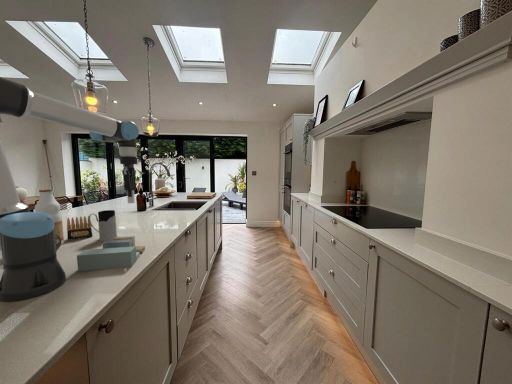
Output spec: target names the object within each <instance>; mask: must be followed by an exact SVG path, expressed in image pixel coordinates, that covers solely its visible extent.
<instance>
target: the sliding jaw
mask: <svg viewBox="0 0 512 384" xmlns="http://www.w3.org/2000/svg"><path fill="white" fill-rule="evenodd" d="M135 237H136V236H135V235H133V236H118V237H115V238H114V239H113V240H123V239H132V245H133V246H136V239H135ZM145 251H146V246H145V245H137V246H136V252H139V254H143V253H144V252H145Z"/></svg>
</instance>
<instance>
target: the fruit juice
mask: <svg viewBox="0 0 512 384" xmlns="http://www.w3.org/2000/svg"><path fill="white" fill-rule="evenodd" d="M38 192H39V200H38V201H37V203H36V204H35V206H34V212H36V213H37V212H42V213H47V214H49V215H51V216H52V218H53V222H54V225H55V226H54V232H55V234H56V235H58V236H60V238H61V246H62V245H64V243H65V237H64V227H63V226H64V225H63V218H62V214H61V204H60V203H59V202H58V201H57V200H56V198H55V196H54V194H53V193H54V189H53V188H41V189H39V190H38Z"/></svg>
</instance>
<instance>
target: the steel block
mask: <svg viewBox="0 0 512 384" xmlns="http://www.w3.org/2000/svg"><path fill="white" fill-rule="evenodd" d="M101 245H102V249H105V248H119V247H133V245H132V239H123V240H107V241H103V243H102V244H101Z"/></svg>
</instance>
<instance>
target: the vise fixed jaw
mask: <svg viewBox="0 0 512 384" xmlns="http://www.w3.org/2000/svg"><path fill="white" fill-rule="evenodd" d="M140 254H141V253H139V252H136V245H135V246H133V247H119V248H105V249H103V248H93V249H92V248H90V249H85V250H82V252H80V253H79V254H77V255H76V261H77V262H76V263H77V271H78V272H85V271H97V270H110V269H121V268H132V267H133V266H134V265H135V263H136V262H137V261H138V260H139V258H140V257H141V255H140Z"/></svg>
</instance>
